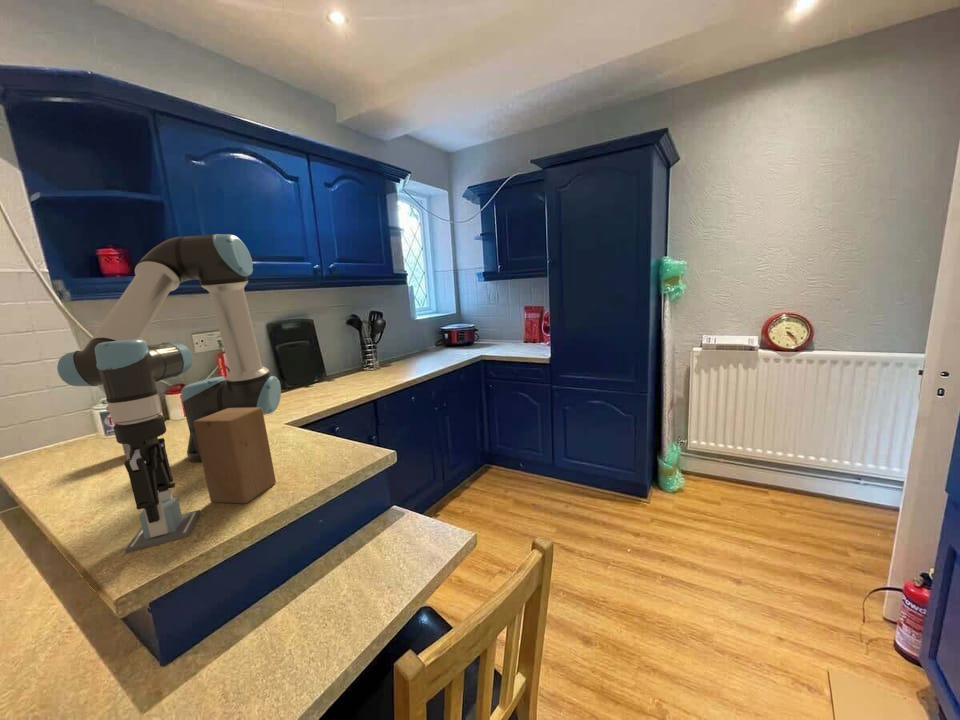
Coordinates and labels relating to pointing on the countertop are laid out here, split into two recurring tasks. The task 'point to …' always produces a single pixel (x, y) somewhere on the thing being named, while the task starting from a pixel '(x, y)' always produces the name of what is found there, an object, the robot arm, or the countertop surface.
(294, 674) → the countertop surface
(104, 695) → the countertop surface
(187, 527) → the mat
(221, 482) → the wooden block
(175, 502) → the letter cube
